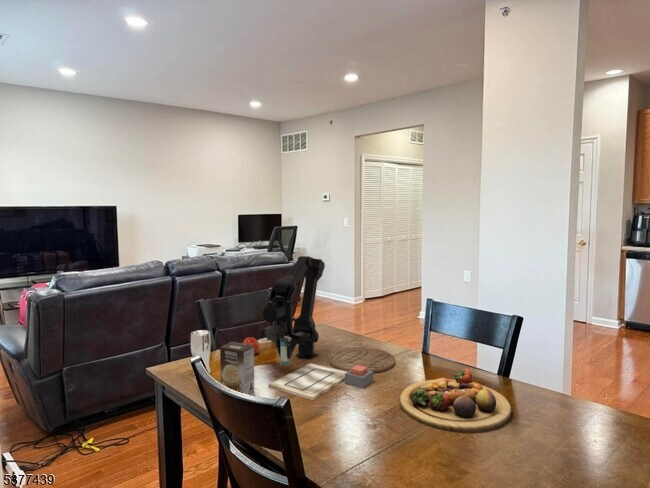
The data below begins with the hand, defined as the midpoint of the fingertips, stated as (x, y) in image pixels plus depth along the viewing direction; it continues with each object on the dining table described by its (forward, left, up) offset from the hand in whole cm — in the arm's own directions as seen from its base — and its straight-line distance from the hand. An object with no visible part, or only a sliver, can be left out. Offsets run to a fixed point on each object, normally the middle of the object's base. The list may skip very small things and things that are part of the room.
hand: (285, 357), depth 163 cm
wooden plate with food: (-5, +60, -5) cm, 61 cm away
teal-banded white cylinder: (0, 0, -2) cm, 2 cm away
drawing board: (+3, +14, -5) cm, 15 cm away
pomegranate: (-6, -23, -5) cm, 24 cm away
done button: (-5, +28, -3) cm, 29 cm away
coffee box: (+25, +1, -5) cm, 25 cm away
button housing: (-5, +28, -5) cm, 29 cm away
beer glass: (+19, -23, -5) cm, 30 cm away
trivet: (-23, +19, -5) cm, 30 cm away
